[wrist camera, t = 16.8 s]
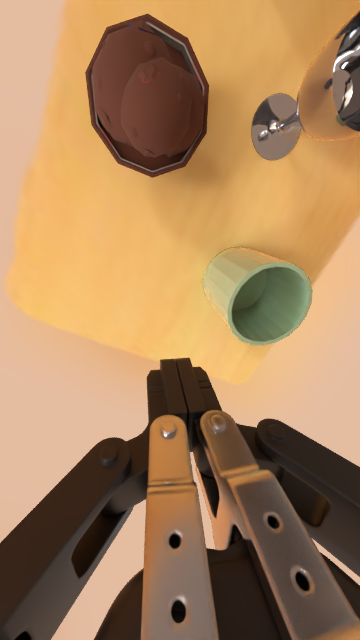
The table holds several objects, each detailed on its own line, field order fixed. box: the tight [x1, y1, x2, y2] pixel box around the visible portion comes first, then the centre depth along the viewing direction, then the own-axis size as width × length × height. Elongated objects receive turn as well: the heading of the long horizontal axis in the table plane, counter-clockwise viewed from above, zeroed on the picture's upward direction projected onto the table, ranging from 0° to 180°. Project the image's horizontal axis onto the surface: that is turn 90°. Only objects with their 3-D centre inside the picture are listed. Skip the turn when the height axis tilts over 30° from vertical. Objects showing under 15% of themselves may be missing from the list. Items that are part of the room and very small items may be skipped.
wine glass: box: [251, 10, 360, 160], centre depth 24 cm, size 8×8×15 cm
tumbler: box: [203, 247, 312, 345], centre depth 34 cm, size 11×11×12 cm
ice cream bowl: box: [86, 14, 209, 177], centre depth 22 cm, size 11×11×15 cm
